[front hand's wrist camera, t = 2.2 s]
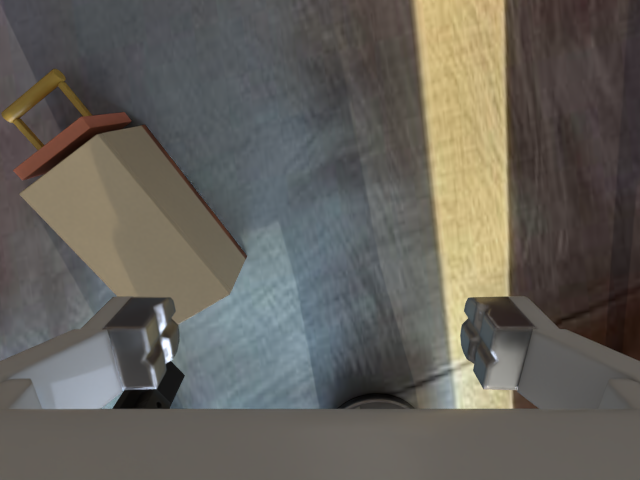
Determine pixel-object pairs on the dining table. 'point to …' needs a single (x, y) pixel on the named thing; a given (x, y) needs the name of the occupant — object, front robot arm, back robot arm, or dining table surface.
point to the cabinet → (139, 222)
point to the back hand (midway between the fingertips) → (92, 405)
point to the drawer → (67, 138)
